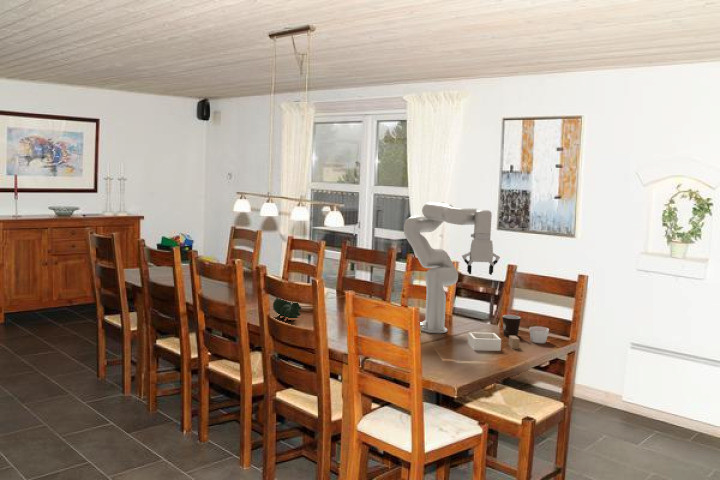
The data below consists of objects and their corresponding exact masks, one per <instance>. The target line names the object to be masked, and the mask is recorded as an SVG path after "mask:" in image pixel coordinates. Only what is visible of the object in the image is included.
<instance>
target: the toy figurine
mask: <svg viewBox="0 0 720 480" xmlns="http://www.w3.org/2000/svg"><path fill="white" fill-rule="evenodd" d="M272 308H273V309H272V310H273V311H274V312H275V313H276V314H277V313H278V314H280V315H279V316H284V317H288V318H299V317H301V312H300V310H302V306H300V304H298V303H293V302H292V301H290V302H287V301H284V300H281V299H278V297H275V299H274V301H273V304H272Z"/></svg>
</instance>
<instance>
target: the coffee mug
mask: <svg viewBox="0 0 720 480" xmlns="http://www.w3.org/2000/svg"><path fill="white" fill-rule="evenodd" d="M520 324H521V316H518V315H515V314H504V315H502V328H503V336H504V337H508V338H509V336H517V337H518V335H519V329H520Z"/></svg>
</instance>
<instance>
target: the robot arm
mask: <svg viewBox="0 0 720 480" xmlns="http://www.w3.org/2000/svg"><path fill="white" fill-rule="evenodd" d="M421 212H422V215H414V216H410V217H408V218H406V220H405V221H404V224H403V232H404V233H403V234H404V236H405V238H406V240H407V241H408V243H409V245H410V246H411V248H412V250H413V252H414V254H415V256H416V259H418V261H419V264H420V265H421V267H422V268H424V269H428V270H427V271H426V273H425V274H424V275H425V276H424V277H425V280H424V281H425V285H426V289H425V290H426V300H425V317H424V318H425V319H424V320H423V321H421V322H420V321H419V322H420V327H421V331H423V332H424V333H427V334H428V333H429V334H445V333H447V332H448V328H447V327H445V323H446V321H445V320H446V302H447V300H446V299H447V295H446V291H445V289H444V287H446V286H448V287H449V286H453V285H455V284H456V283H457V282H458V279H459V274H458V273H459V272H458V271H457V268H456V266H455V265H454V262H453V260H452V259H451V257H450V256H449V253H448V252H447V251H446V250H444V249H443V248H433V247H432V246H431V244H430V243H429V241H428V240H427V238H426V237H425V236H424V235H422V234H421V233H432V232H434V231H436V230H437V229H439V227H440V226H441V225H442V224H443V223H444V222H445V223H447V224H451V225H459V226H467V225H468V226H472V225H473V226H474V227H473V233H471V234H470V238H472V240H471V244H470V248H469V251H468V252H466V253H464V254H462V255H461V257H462V259H463V261H464V263H465V264H466V265H467V267H466V269H467V270H466V272H467V273H468V274H469V275H471V274H472V264H473V263H488V264H489V266H488V274H489V275H491V276H492V275H493V273H494V267H495V265H497V263H498V262H499V260H500V258H501V257H500V256H499V255H497V254H496V253H494V245H493V240H491V235H492V234H491V232H492V219H493V218H492V216H493V215H492V213H493V212H492V211H491V210H488V209H485V210H484V209H478V208H458V207H457V208H456V207H454V206H453V205H452V204H449V203H446V202H443V201H441V202H439V201H438V202H437V201H430V202H426V203H425V204H424V205H423V206H422V209H421ZM468 257H469V260H468V259H467V258H468ZM494 258H495V259H494ZM493 259H494V260H493Z"/></svg>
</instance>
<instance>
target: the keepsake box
mask: <svg viewBox="0 0 720 480" xmlns="http://www.w3.org/2000/svg"><path fill="white" fill-rule="evenodd" d="M467 334H468V335H467V344H468V345H469V346H470V347H471V349H472V350H473V351H490V352H491V351H493V352H494V351H498V352H500V351H501V348H502V338H500V337H499V336H498V335H497V333H495V332H474V331H473V332H468V333H467Z"/></svg>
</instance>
